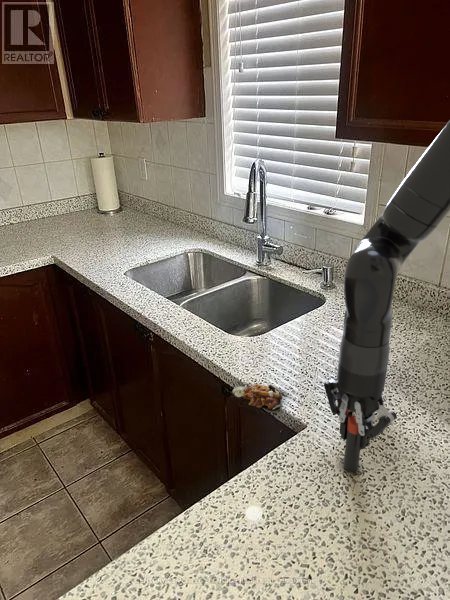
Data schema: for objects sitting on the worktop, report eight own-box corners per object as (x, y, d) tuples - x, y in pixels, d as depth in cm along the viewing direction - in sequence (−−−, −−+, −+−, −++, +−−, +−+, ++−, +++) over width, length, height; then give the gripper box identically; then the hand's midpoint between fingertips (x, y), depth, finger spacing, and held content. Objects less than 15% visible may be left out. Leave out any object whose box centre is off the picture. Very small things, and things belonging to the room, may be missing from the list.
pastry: (238, 384, 106) (237, 371, 105) (287, 395, 102) (287, 382, 100) (226, 402, 100) (226, 389, 99) (278, 414, 96) (278, 401, 94)
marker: (361, 468, 82) (367, 421, 77) (351, 475, 80) (357, 428, 75) (349, 459, 83) (354, 413, 79) (339, 466, 82) (344, 419, 77)
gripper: (416, 370, 69) (400, 455, 76) (343, 335, 79) (336, 413, 86) (386, 390, 65) (373, 477, 72) (314, 350, 75) (309, 430, 82)
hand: (353, 441), depth 79 cm, fingers closed on marker, 2 cm apart
